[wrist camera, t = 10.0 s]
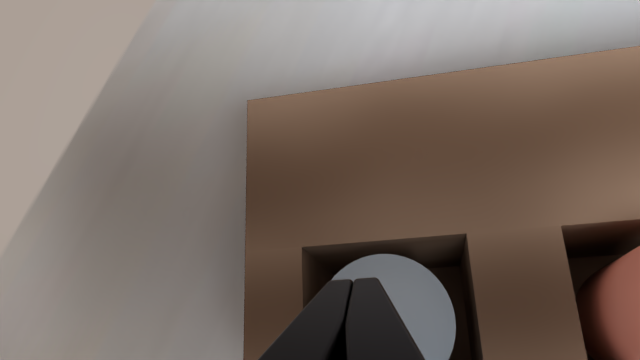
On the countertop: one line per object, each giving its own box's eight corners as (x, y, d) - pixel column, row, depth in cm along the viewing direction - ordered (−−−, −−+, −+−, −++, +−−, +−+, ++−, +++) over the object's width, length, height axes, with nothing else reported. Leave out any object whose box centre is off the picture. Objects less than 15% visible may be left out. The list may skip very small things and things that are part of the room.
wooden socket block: (1041, 405, 15) (1393, 428, 9) (299, 419, 19) (242, 441, 14) (897, 97, 18) (1093, -18, 13) (294, 165, 23) (247, 100, 17)
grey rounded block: (458, 388, 16) (464, 395, 12) (347, 391, 16) (318, 399, 12) (445, 275, 17) (447, 248, 13) (342, 282, 18) (314, 259, 14)
